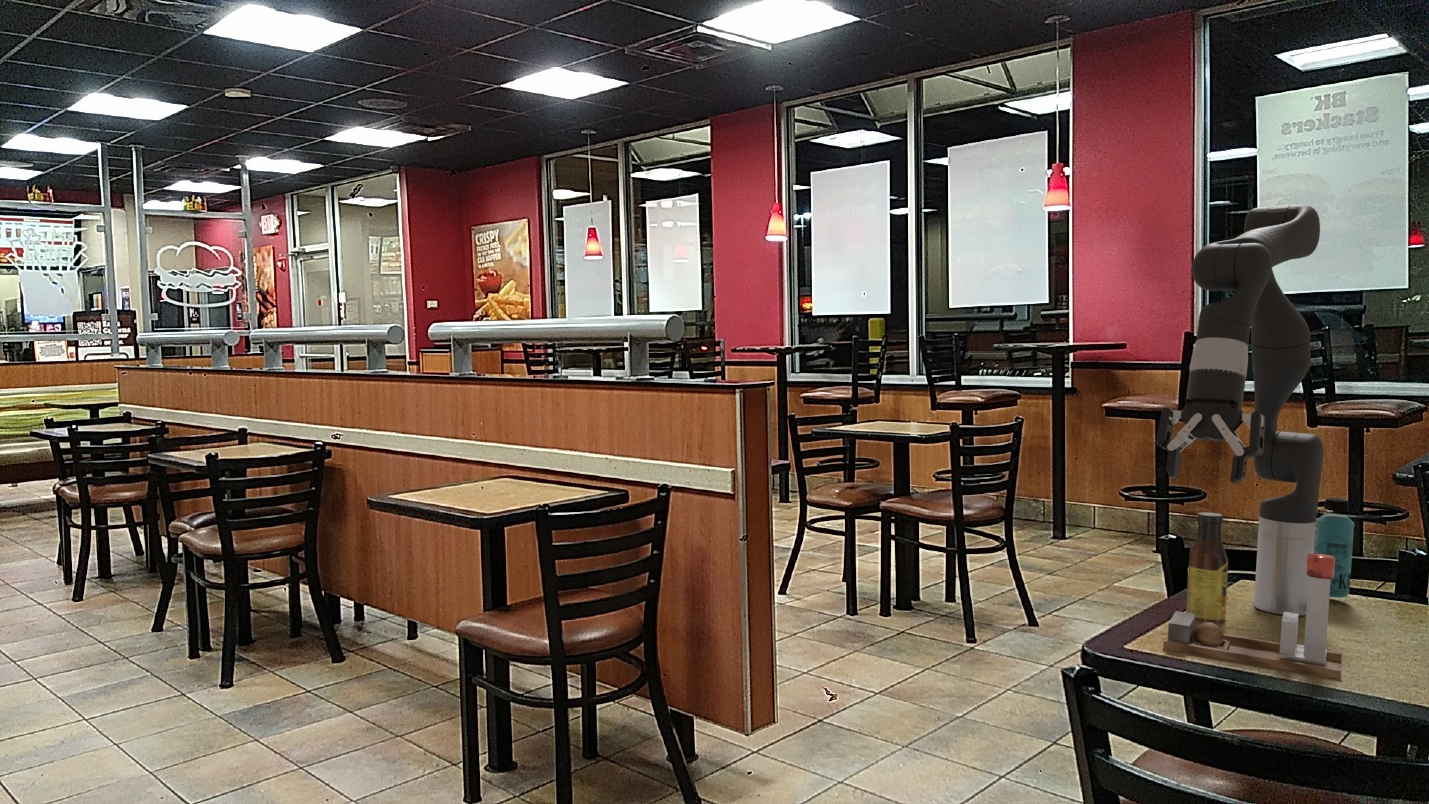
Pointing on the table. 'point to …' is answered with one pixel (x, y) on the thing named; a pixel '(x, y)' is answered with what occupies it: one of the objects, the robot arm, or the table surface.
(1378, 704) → the table surface
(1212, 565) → the sauce bottle
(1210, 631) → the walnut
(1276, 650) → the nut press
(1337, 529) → the beverage bottle
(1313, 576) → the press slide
